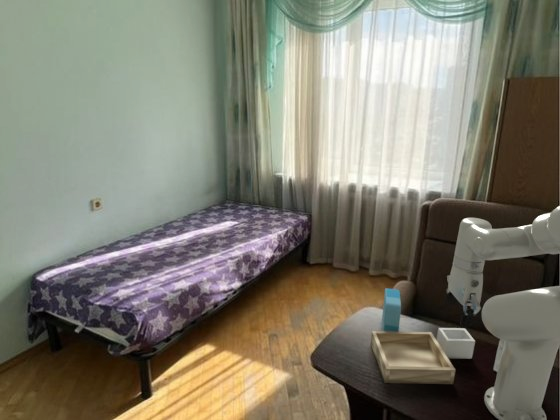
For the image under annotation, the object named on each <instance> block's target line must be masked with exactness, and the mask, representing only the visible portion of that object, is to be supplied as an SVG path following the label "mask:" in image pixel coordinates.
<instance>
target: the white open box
mask: <svg viewBox="0 0 560 420" xmlns="http://www.w3.org/2000/svg"><path fill="white" fill-rule="evenodd" d="M436 340H437V342H438V343H439V345H440V347H441V348H442V350H443V351H444V353H445V354H446V356H447V357H448V359H469V360H470V359H472V358H473V355H474V351H475V344H476V340H475V339H474V337H472V335H471V334H470V332H469V331H468V330H467V329H466V328H463V327H462V328H461V327H458V328H457V327H438V329H437V335H436Z"/></svg>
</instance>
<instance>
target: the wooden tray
mask: <svg viewBox="0 0 560 420" xmlns="http://www.w3.org/2000/svg"><path fill="white" fill-rule="evenodd" d="M370 337H371V339H370V346H371V348H372V350H373V351H372V352H373V354H374V356H375V357H374V358H375V360H376V363H377V365H378V369H379V370H380V373H381V374H380V375H381V376H382V379H383V382H384V384H422V385H424V384H425V385H426V384H427V385H428V384H430V385H433V384H434V385H453V384H454V381H455V375H456V368H455V367H454V365H453V364H452V362H451V360H450V358H448V357H447V356H446V354H445V353H444V351H443V350H442V348H441V347H440V345H439V343H438V342H437V338H436V337H435V336H434V334H433V333H432V332H431V331H398V332H394V331H381V330H372V331H371V336H370Z"/></svg>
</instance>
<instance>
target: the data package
mask: <svg viewBox="0 0 560 420" xmlns="http://www.w3.org/2000/svg"><path fill="white" fill-rule="evenodd" d="M401 313H402V302H401V292H400V289H395V288H386V287H385V289H384V297H383V307H382V315H381V317H382V319H381V322H382V323H381V325H382V327H381V328H382V329H381V330H382V331H394V332H400V331H399V330H400V322H401V321H400V320H401Z"/></svg>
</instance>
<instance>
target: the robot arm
mask: <svg viewBox="0 0 560 420" xmlns="http://www.w3.org/2000/svg"><path fill="white" fill-rule="evenodd" d="M456 239H457V240H456V244H455V249H454V253H453V254H454V256H453V261H452V266H451V270H450V273H449V275H447V276H446V278H447V279H446V280H447V282H446V287H447V289H446V296H445V302H444V305H445V306H446V307H456V306H457V303H459V304H461V305H462V309H463V312H461V317H460V322H459V325H460V326H461V327H473V325H474V324H473V323H474V319H475V316H476V315H479V312H480V311H481V320H482V323H483V325H484V327H485V328H486V330H487V331H488V332H489V333H490V334H491V335H493V336H494V337H496V338H497V339H499V340H500V339H501V340H504V341H505V342H504V346H503V350H502V355H501V359H500V364H499V368H498V372H496V377H495V378H496V379H495V382H494V386H491V387H490V388H488V389H487V390H486V391H485V393H484V396H483V399H484V400H483V401H484V404H485V406H486V408H487V409H488V411H489V412H490V413H491V415H493V416H494V418H496V419H498V420H547V414H546V413H545V410H544V409H543V407H542V405H543V403H544V402H543V401H544V398H545V395H546V391H547V387H548V384H549V382H550V381H549V380H550V376H551V372H552V369H553V366H554V363H555V360H556V356H557V354H558V353H557V352H558V350H559V349H560V285H555V286H547V287H540V288H535V289H534V288H533V289H526V290H522V291H517V292H516V291H515V292H510V293H504V294H498V295H494V296H492V297H490V298H488V299H486V301H485V303H484V304H483V307H481V305H480V303H481V300H482V299H481V298H482V294H483V286H484V285H483V284H484V273H483V272H484V266H485V264H486V263H485V262H486V261H494V260H495V261H496V260H505V259H515V258H524V257H525V258H526V257H530V256H539V255H546V254H550V255H558V254H560V205H558V206H557V207H556V208H555V209H553V210H552V211H551V212H547V213H543V214H541V215H538V216H537V217H536V218H534V220H533V222H532V224H527V225H522V226H516V227H504V228H492V224H491V223H490V222H489V221H488V220H486V219H482V218H480V217H479V218H477V217H466V218H463V219H462V220H461V222H460V223H459V229H458V234H457V238H456ZM468 306H469V307H470V309H468Z"/></svg>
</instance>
